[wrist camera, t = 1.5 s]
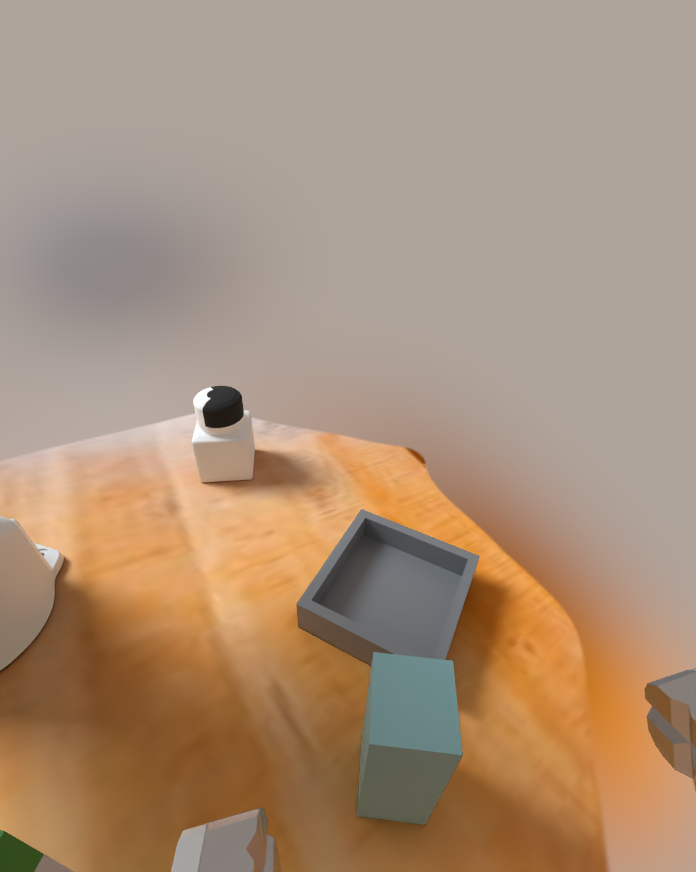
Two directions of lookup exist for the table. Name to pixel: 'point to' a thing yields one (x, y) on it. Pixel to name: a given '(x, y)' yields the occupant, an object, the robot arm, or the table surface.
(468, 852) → the table surface
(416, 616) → the box
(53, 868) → the hardback book
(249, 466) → the medicine bottle
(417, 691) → the tall teal prism
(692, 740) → the robot arm
